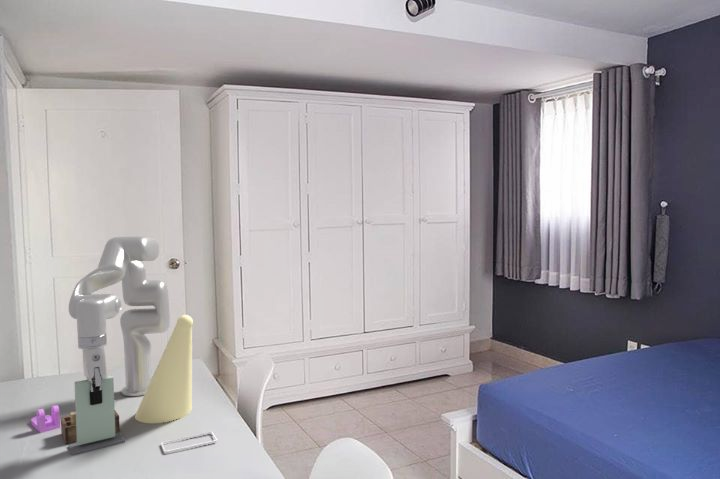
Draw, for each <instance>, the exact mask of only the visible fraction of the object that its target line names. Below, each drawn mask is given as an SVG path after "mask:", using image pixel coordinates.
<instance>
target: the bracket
mask: <svg viewBox="0 0 720 479" xmlns="http://www.w3.org/2000/svg"><path fill="white" fill-rule="evenodd" d="M50 409H51V412H50V414H51V415H50V414H45V410H44V408H39V409H37V410H36V416H34V417H32V418H31V419H30V424H31V426H33V427H34V428H35V429H36V431H38V432H39V433H40V434H42V433H45V432H49V431H53V430H54V431H55V430H56V429H61V415H60V407H59V405H58V404H56V405H52V406H51V408H50Z"/></svg>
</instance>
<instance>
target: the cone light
mask: <svg viewBox="0 0 720 479" xmlns="http://www.w3.org/2000/svg"><path fill="white" fill-rule="evenodd" d="M193 324H194V319H193V318H192V316H190V315H189V314H183V315H180V316H179V318H177V320H176V324H175V326H174V328H173V330H172V333H171V335H170V337H169V339H168V342H167V344H166V346H165V348H164V351H163V352H162V355H161V357H160V359H159V362H158V364H157V366H156V368H155V371H154V373H153V374H152V376H153V377H152V379H151V381H150V384H149V386H148V388H147V390H146V393H145V395H143V396H142V400H141V401H140V404H139V406H138V409H137V410H136V413H135V414H134V419H135V420H136V421H138V422H140V423H143V424H164V423H168V422H169V421H170V422H174V421H177V420H180V419H183V418H185V417H186V415H187V414H188V413H189V414H190V413H191V412H192V411H193ZM191 410H192V411H191ZM190 411H191V412H190ZM189 414H188V415H189ZM188 415H187V416H188ZM184 416H185V417H184ZM182 417H183V418H182ZM179 418H180V419H179ZM176 419H177V420H176ZM173 420H174V421H173ZM163 422H164V423H163ZM170 422H169V423H170Z"/></svg>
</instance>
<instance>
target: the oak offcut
mask: <svg viewBox="0 0 720 479" xmlns="http://www.w3.org/2000/svg"><path fill="white" fill-rule="evenodd" d="M69 416H70V420H71V425H76V411H71V412H69Z"/></svg>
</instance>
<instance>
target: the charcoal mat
mask: <svg viewBox="0 0 720 479" xmlns="http://www.w3.org/2000/svg"><path fill="white" fill-rule="evenodd" d="M125 442H126V440H125V438H124V436H123V435H122V434H121V431H119V432H115V437H111V438H107V439H103V440H99V441H94V442H90V443H86V444H82V445H78V444H77V442H73V443H69V444H68V448H69V451H70V452H71V456H74V455H78V454H83V453H86V452H90V451H93V450H94V451H95V450H98V449H103V448H107V447H110V446H115V445H119V444H122V443H125Z"/></svg>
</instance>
